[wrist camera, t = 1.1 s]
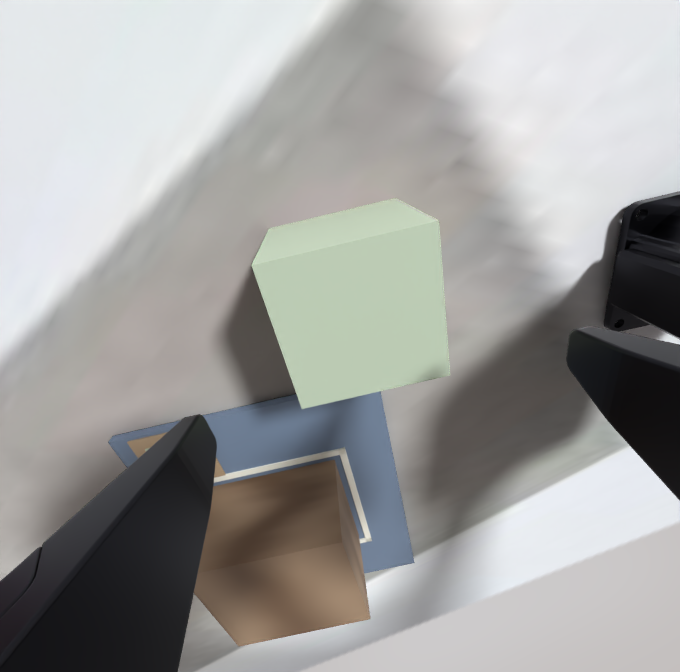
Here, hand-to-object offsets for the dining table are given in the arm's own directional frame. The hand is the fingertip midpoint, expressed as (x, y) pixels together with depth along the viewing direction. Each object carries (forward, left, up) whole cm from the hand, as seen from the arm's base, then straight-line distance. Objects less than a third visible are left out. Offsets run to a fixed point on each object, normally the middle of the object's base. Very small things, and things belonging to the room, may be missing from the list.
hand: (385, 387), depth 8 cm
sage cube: (0, 0, -9) cm, 9 cm away
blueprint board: (+7, +15, -9) cm, 19 cm away
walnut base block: (+7, +15, -8) cm, 19 cm away
